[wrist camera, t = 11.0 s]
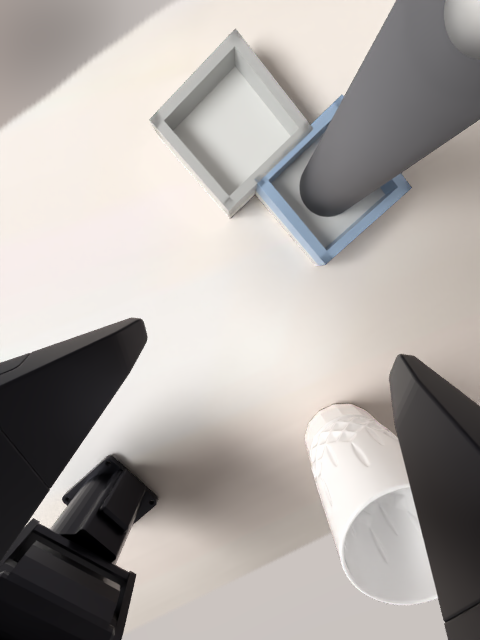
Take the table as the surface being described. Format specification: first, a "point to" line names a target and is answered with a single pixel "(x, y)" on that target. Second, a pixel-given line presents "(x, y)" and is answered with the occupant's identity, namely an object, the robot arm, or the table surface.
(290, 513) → the table surface
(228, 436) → the table surface
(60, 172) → the table surface
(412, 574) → the white cup
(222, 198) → the divided tray
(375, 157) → the gray bottle
